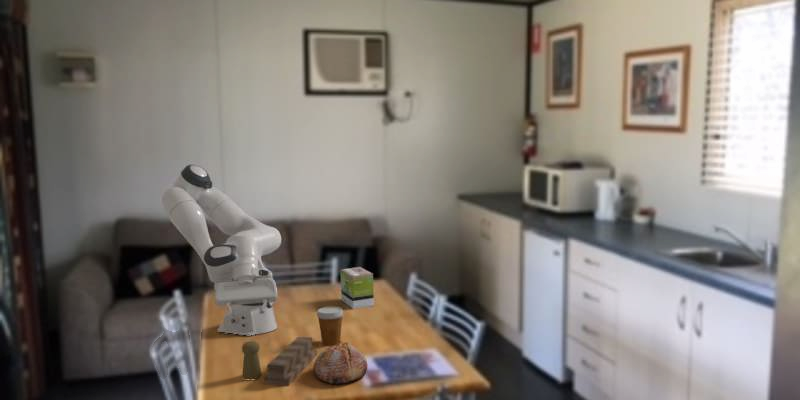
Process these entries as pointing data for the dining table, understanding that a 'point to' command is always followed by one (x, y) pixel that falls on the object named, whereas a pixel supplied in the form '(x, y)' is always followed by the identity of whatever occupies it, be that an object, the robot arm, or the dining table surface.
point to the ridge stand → (290, 362)
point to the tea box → (357, 287)
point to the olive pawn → (251, 361)
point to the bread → (340, 364)
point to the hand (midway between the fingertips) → (247, 314)
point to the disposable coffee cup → (330, 324)
